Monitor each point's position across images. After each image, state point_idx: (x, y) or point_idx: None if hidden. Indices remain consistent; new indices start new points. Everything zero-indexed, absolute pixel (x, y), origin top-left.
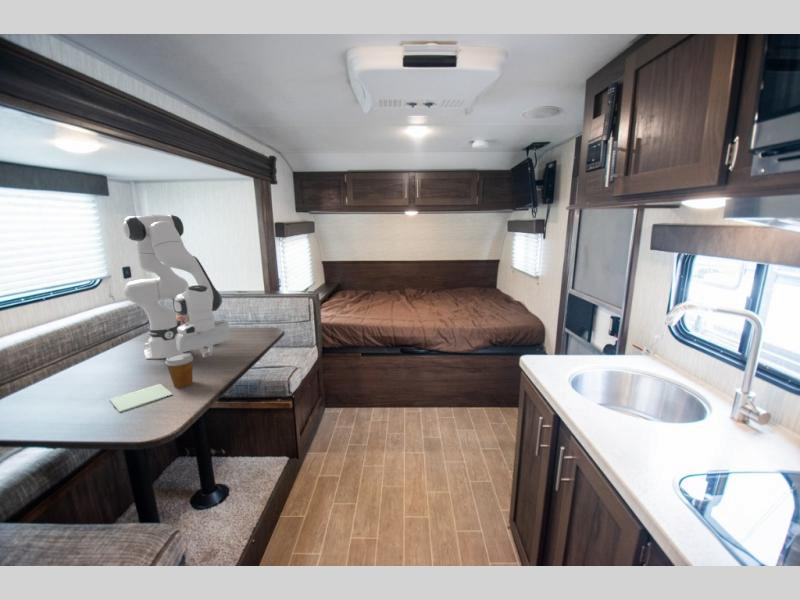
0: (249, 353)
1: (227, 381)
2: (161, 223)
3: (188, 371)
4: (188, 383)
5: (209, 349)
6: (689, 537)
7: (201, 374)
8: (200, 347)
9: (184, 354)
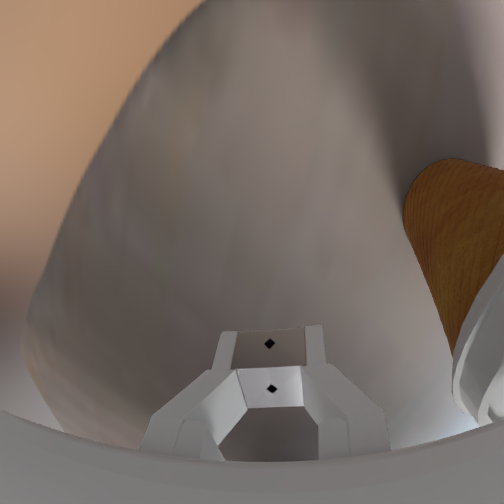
0: (56, 368)
1: (203, 22)
2: None
3: (493, 181)
4: (446, 163)
5: (219, 409)
6: None
7: (312, 293)
8: (409, 454)
9: (501, 405)
